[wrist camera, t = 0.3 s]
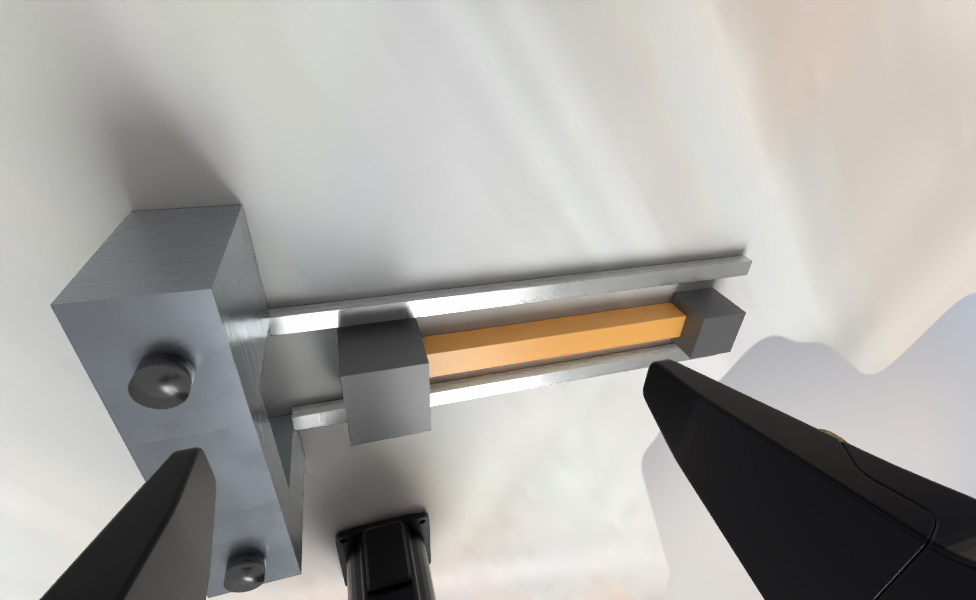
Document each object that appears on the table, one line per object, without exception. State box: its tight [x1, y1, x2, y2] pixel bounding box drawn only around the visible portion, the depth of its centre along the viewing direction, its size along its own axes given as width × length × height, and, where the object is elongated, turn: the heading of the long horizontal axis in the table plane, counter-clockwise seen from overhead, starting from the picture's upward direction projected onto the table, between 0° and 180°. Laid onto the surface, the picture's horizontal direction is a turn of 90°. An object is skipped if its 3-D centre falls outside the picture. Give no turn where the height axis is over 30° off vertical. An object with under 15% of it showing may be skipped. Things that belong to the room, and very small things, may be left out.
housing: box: [51, 205, 752, 598], centre depth 24 cm, size 16×32×8 cm, turn 87°
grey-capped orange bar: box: [337, 288, 746, 446], centre depth 27 cm, size 24×4×4 cm, turn 87°
